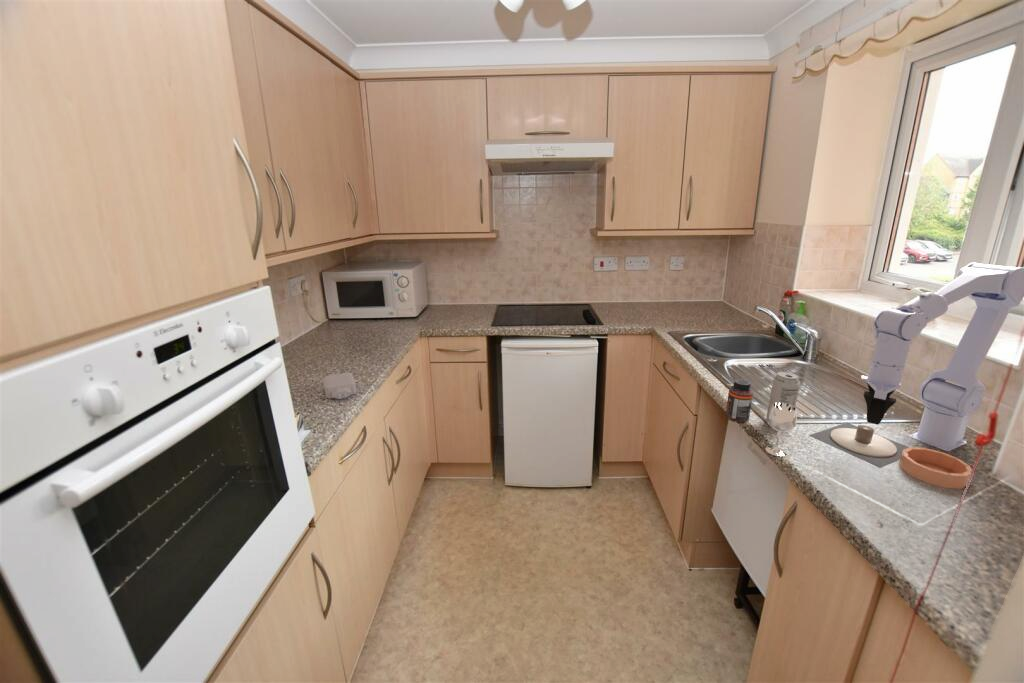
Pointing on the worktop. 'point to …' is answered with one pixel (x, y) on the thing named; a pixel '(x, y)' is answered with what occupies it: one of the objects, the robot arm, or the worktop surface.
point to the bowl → (935, 467)
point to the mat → (876, 461)
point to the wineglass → (781, 423)
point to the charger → (339, 385)
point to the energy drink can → (784, 390)
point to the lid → (863, 441)
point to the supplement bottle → (739, 401)
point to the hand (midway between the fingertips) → (874, 416)
